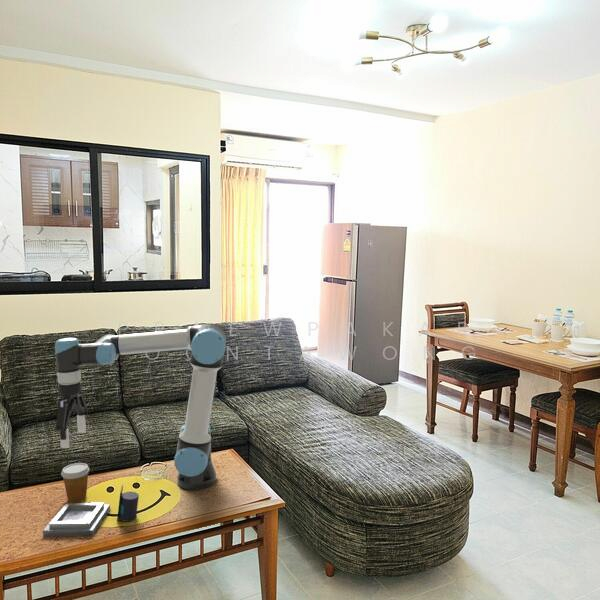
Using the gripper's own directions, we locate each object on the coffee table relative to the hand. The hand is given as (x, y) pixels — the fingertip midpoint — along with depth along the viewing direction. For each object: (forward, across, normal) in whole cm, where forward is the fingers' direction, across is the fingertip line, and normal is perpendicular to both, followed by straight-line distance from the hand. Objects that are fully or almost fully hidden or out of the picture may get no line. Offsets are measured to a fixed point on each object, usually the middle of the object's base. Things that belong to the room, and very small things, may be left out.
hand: (74, 439), depth 183 cm
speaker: (+25, +9, +21) cm, 34 cm away
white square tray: (+24, +12, +5) cm, 28 cm away
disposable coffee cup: (+25, -4, -2) cm, 25 cm away
